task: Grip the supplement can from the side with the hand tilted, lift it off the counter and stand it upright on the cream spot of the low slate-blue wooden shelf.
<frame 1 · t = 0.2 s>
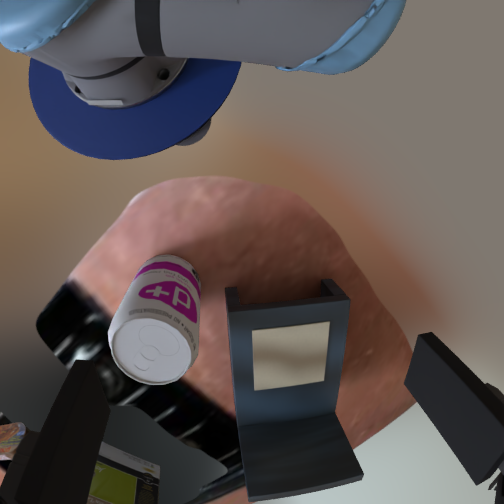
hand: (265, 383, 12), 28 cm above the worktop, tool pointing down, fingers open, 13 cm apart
tin: (14, 428, 45), on the worktop
tea box: (117, 460, 49), on the worktop
shelf: (279, 348, 44), on the worktop
supplement can: (168, 283, 40), on the worktop
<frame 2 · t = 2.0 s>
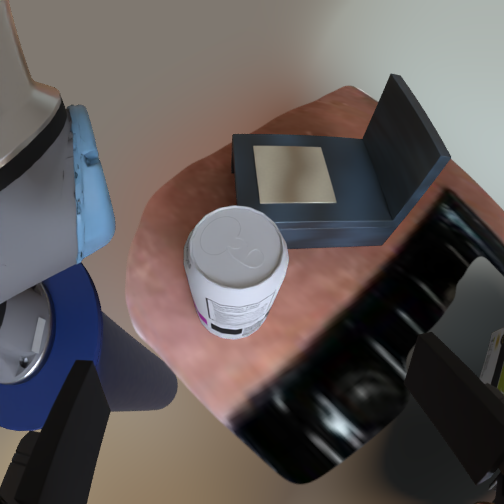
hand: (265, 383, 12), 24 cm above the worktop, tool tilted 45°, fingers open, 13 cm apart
tea box: (496, 388, 34), on the worktop
shelf: (305, 203, 45), on the worktop
supplement can: (231, 306, 38), on the worktop
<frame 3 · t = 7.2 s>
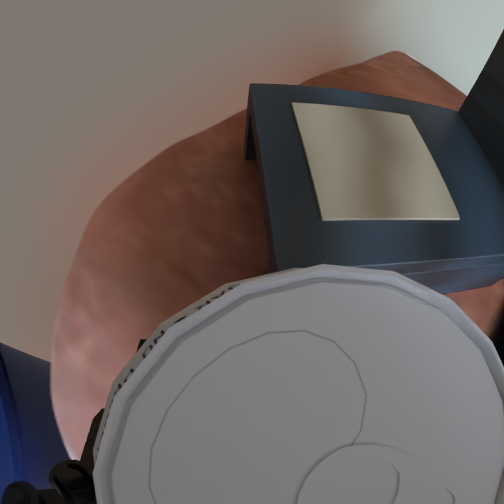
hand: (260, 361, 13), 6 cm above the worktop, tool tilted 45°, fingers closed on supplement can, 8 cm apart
shelf: (378, 214, 24), on the worktop
supplement can: (255, 428, 17), on the worktop, touching gripper
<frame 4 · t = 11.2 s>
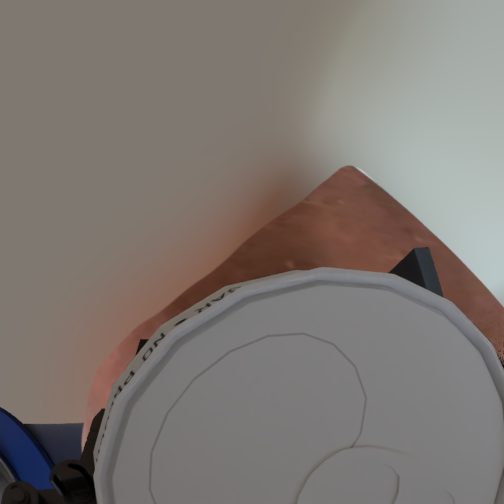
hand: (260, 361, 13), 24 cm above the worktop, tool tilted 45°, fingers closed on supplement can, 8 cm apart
shelf: (278, 382, 35), on the worktop
supplement can: (255, 429, 17), point 18 cm above the worktop, touching gripper
when the fingers open (12 cm above the worktop, at t = 15.2 s): supplement can stays where it is, resting on shelf.
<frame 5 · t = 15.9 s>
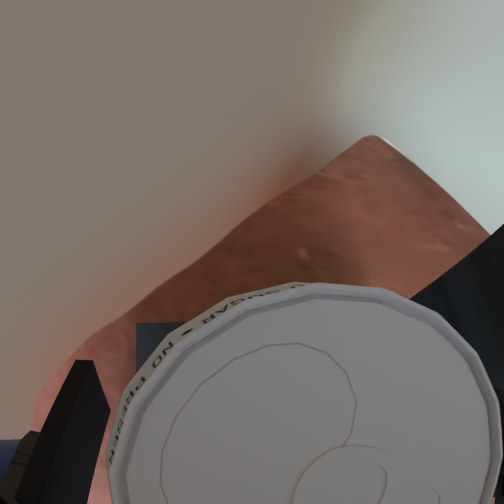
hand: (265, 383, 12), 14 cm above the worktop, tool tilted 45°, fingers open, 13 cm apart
shelf: (285, 419, 23), on the worktop
supplement can: (256, 430, 17), point 7 cm above the worktop, touching shelf
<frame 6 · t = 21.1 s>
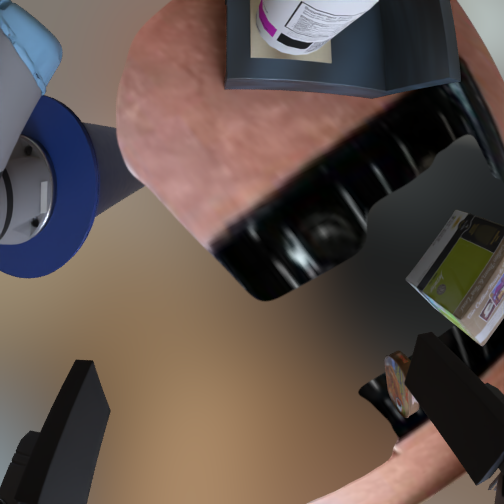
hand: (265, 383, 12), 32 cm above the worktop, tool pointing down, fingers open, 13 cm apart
tin: (392, 371, 55), on the worktop
tea box: (444, 258, 48), on the worktop
shelf: (301, 42, 36), on the worktop
supplement can: (291, 25, 29), point 7 cm above the worktop, touching shelf
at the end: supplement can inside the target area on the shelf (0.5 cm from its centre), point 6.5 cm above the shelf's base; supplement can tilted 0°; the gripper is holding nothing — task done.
